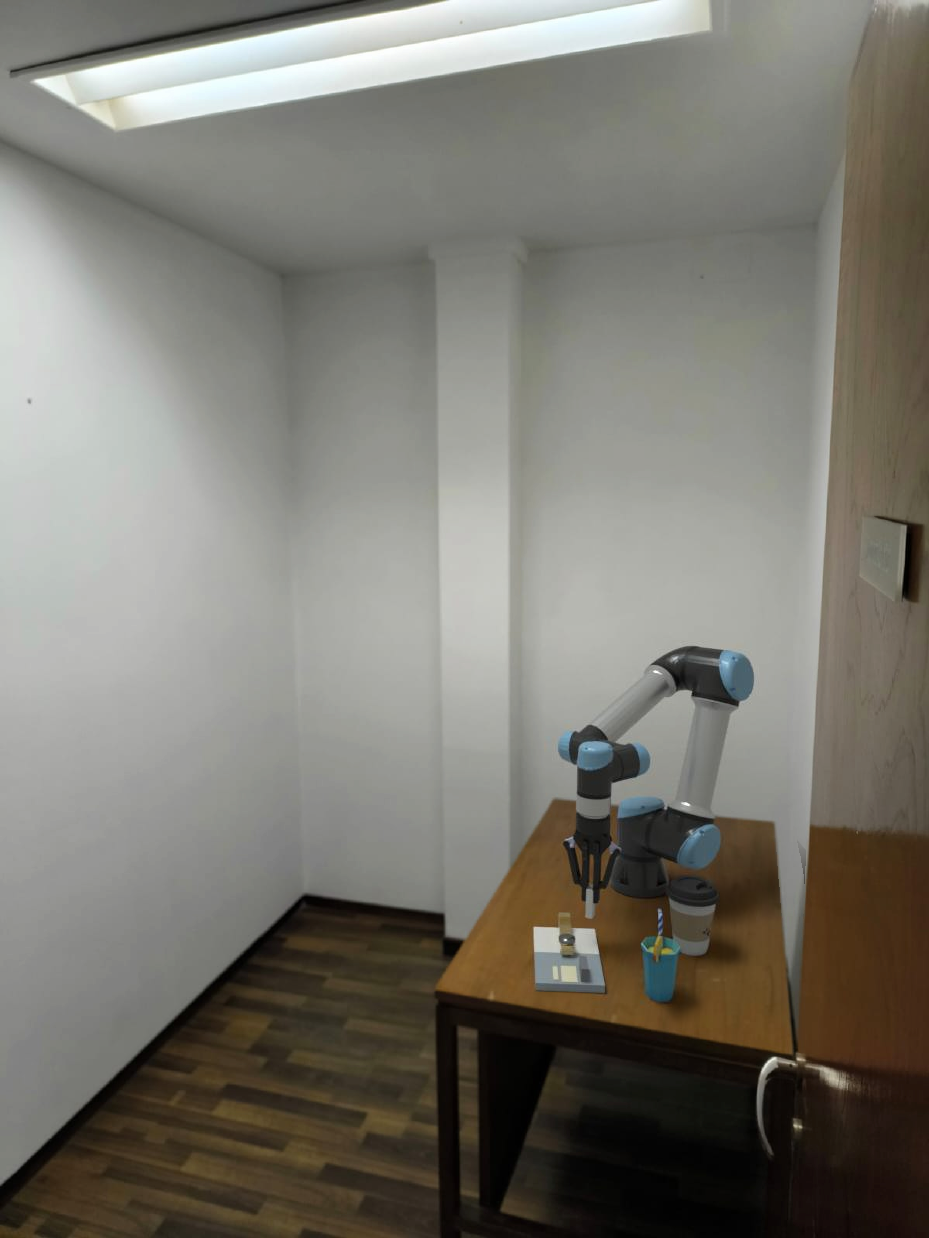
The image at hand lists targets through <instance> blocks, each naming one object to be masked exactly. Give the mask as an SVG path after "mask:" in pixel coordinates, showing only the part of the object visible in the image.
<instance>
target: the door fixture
mask: <svg viewBox="0 0 929 1238" xmlns="http://www.w3.org/2000/svg"><path fill="white" fill-rule="evenodd" d="M571 930H572V935H573V936H575V944H573V946H574V950H573V955H561V947H560V943H559V927H551V926H550V927H549V926H548V927H546V926H533V955H534V956H533V958H534V959H533V961H534V986H535V989H534V990H535V991H540V992H542V991H544V992H545V991H547V992H567V993H568V992H573V993H596V994H606V983H605V979H604V973H603V972H604V971H603V967H602V961H601V957H600V956H601V955H600V951H599V945H598V941H597V934H596V929H595V928H582V927H581V928H579V927H578V928H577V927H571Z"/></svg>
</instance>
